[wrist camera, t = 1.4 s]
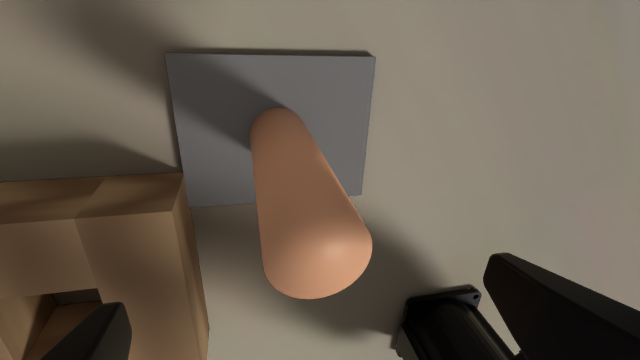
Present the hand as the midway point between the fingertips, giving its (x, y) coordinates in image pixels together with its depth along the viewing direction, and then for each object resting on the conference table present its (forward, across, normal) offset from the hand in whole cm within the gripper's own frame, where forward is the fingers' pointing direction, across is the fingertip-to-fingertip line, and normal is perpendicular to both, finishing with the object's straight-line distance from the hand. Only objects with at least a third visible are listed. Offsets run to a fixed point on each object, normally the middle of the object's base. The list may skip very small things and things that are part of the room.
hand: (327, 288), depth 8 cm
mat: (+11, 0, 0) cm, 11 cm away
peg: (+11, 0, 0) cm, 11 cm away
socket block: (+11, +11, +8) cm, 18 cm away
